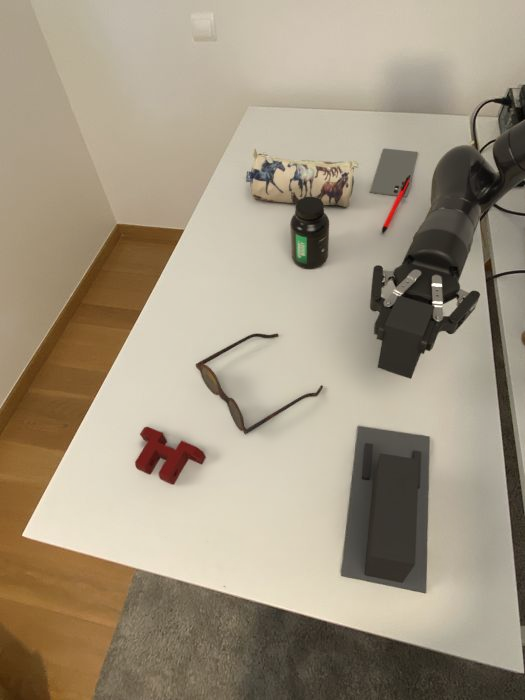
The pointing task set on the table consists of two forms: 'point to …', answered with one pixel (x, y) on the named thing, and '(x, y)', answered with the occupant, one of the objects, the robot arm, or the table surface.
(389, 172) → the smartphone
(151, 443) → the bracket
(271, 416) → the eyeglasses
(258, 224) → the table surface
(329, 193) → the pencil case
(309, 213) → the supplement bottle
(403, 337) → the black rectangular box
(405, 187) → the pen
